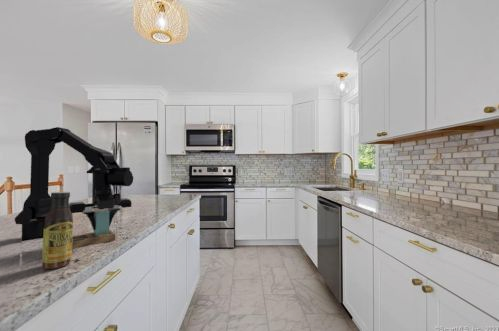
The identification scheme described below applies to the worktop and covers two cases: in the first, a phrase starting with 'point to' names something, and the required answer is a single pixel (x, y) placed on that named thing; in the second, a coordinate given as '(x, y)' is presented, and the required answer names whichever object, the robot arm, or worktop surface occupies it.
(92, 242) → the socket box
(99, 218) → the plug
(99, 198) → the robot arm
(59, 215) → the sauce bottle
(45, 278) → the worktop surface
